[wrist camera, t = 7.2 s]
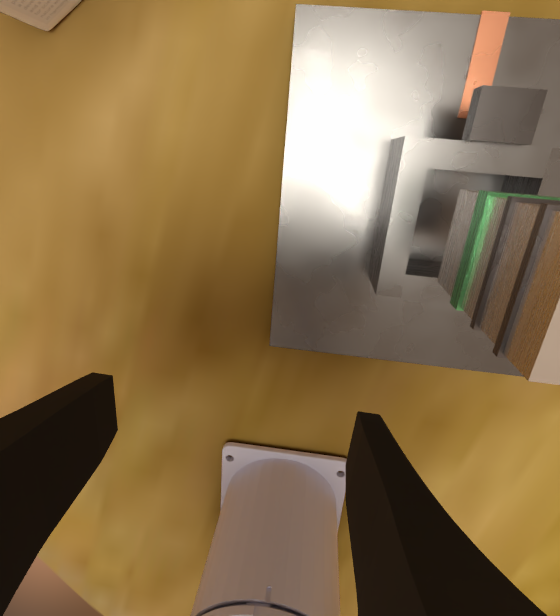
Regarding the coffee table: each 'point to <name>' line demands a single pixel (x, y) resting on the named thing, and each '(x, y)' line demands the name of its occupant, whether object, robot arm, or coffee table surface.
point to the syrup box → (38, 11)
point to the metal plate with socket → (403, 171)
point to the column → (508, 275)
